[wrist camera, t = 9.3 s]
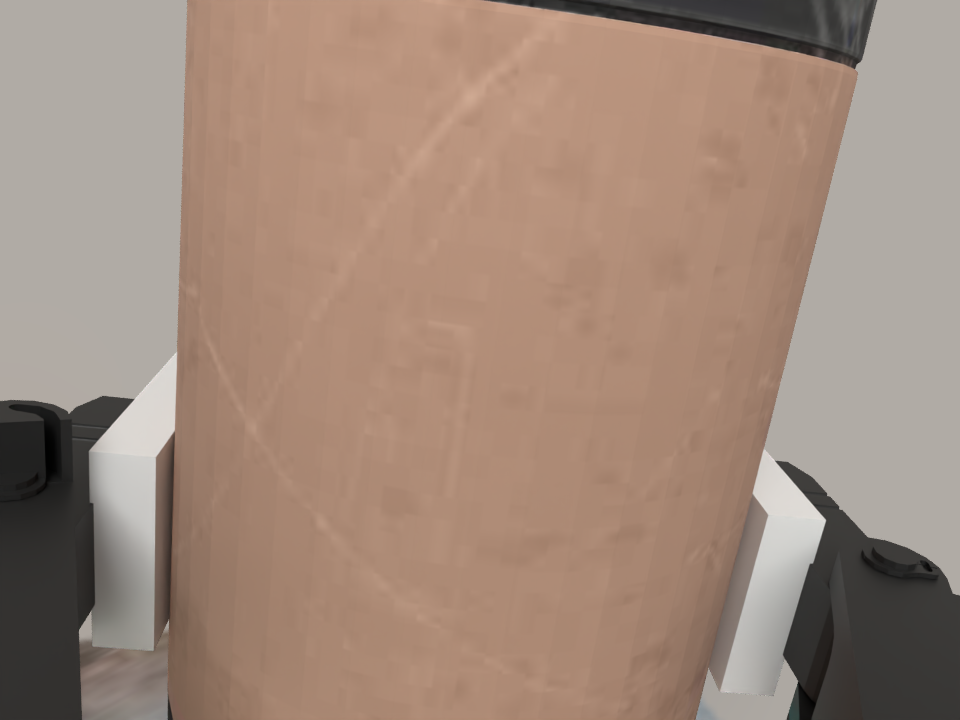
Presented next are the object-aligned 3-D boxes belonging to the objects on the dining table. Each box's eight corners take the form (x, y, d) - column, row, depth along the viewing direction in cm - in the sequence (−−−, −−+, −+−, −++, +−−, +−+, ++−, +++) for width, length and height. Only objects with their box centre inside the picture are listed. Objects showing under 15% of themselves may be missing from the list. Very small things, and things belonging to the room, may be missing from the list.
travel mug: (611, 927, 18) (868, -98, 12) (544, 1443, 11) (1088, -393, 5) (289, 815, 20) (364, -143, 14) (54, 1206, 13) (-23, -415, 6)
